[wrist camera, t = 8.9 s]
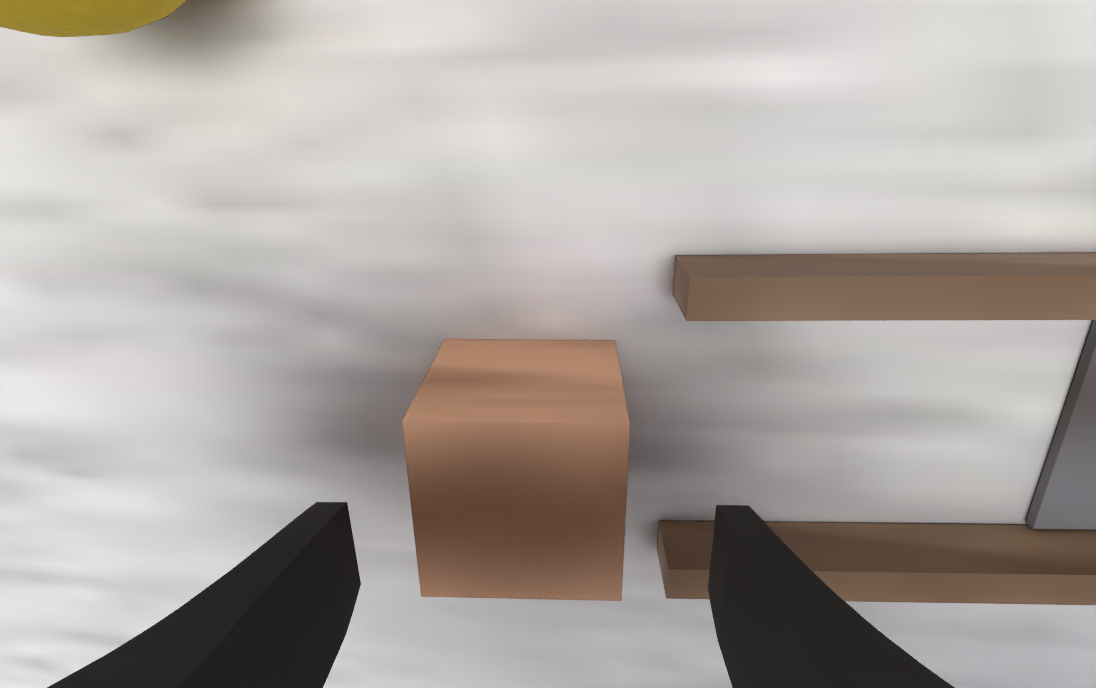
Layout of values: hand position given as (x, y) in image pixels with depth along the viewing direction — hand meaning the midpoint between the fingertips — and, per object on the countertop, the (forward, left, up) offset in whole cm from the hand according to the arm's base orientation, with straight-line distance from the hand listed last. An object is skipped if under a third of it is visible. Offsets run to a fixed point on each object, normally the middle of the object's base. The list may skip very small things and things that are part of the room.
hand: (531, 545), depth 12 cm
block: (0, 0, -6) cm, 6 cm away
